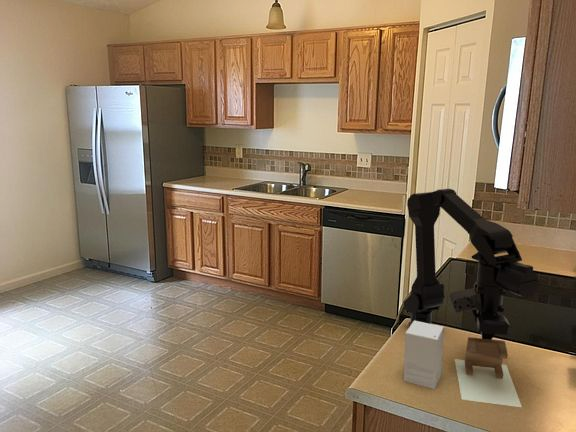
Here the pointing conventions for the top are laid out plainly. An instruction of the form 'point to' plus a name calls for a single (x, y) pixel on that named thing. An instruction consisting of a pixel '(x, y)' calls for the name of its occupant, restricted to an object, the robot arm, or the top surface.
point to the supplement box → (423, 354)
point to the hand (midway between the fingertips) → (485, 344)
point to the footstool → (485, 355)
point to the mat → (486, 385)
